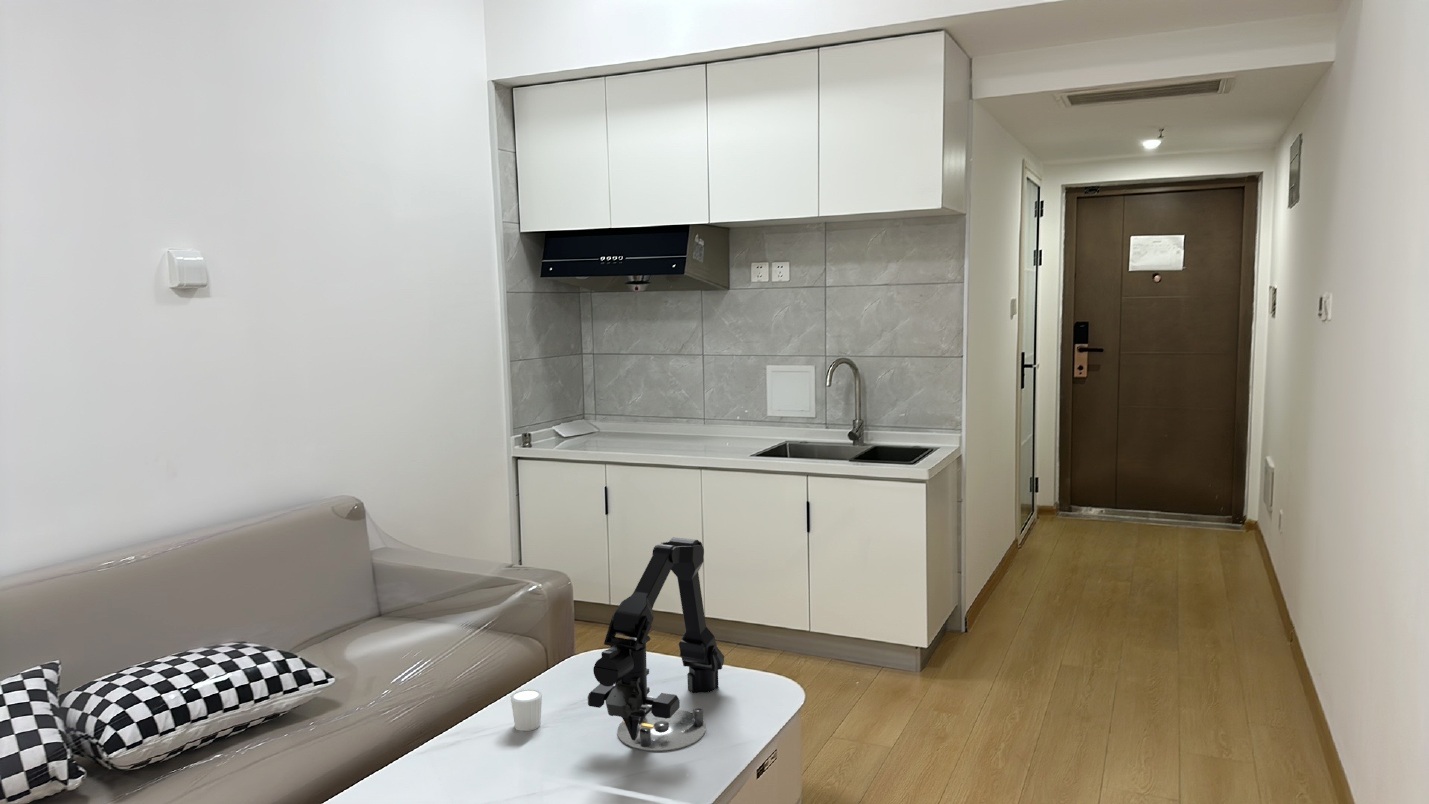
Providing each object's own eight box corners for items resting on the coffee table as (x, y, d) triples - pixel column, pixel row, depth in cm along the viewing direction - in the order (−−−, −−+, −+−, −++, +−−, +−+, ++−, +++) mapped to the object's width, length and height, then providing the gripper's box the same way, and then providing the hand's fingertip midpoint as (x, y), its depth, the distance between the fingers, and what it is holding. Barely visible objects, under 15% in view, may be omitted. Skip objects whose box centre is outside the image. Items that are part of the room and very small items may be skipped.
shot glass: (516, 735, 204) (515, 704, 203) (508, 722, 210) (506, 692, 209) (547, 727, 207) (545, 697, 206) (538, 715, 213) (536, 686, 212)
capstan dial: (718, 717, 208) (718, 701, 208) (684, 757, 191) (684, 740, 190) (641, 705, 215) (640, 690, 215) (601, 743, 198) (601, 726, 197)
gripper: (573, 677, 190) (575, 750, 192) (658, 689, 184) (659, 765, 186) (599, 656, 201) (601, 726, 202) (680, 668, 194) (681, 740, 196)
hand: (634, 739), depth 196 cm, fingers closed
